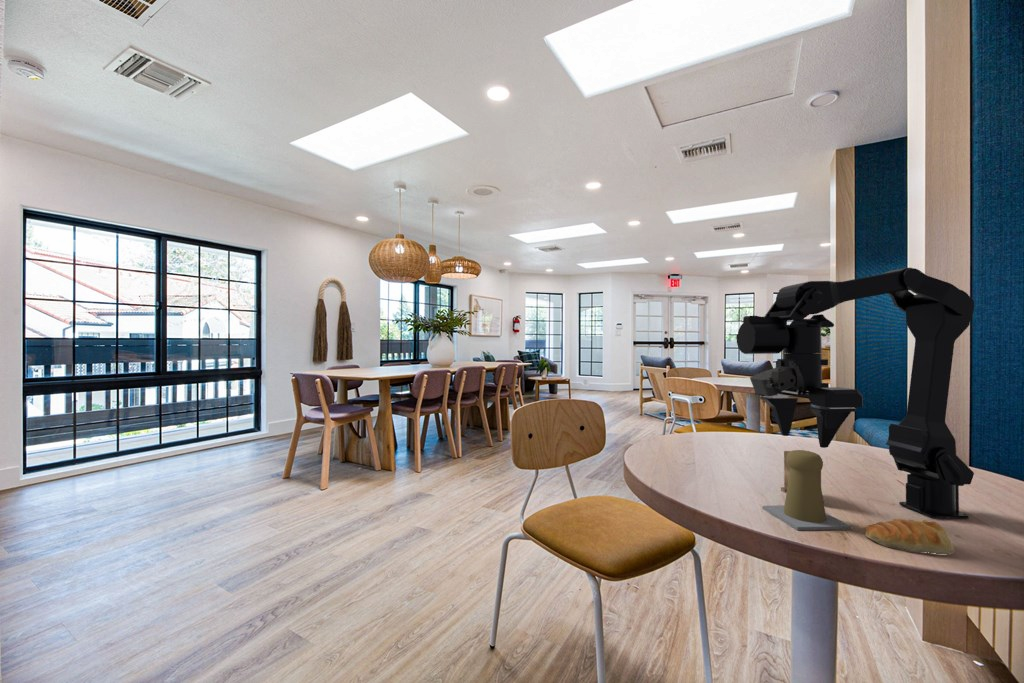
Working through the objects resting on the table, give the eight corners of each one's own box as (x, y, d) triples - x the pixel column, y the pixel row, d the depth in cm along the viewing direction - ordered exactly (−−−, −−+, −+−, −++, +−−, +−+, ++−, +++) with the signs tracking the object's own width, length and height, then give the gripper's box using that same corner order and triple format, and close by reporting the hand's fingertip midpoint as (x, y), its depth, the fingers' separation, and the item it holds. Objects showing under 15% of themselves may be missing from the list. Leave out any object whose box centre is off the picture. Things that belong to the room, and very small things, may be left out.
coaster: (810, 507, 77) (810, 505, 77) (851, 529, 68) (851, 526, 68) (762, 508, 76) (762, 505, 76) (797, 530, 67) (797, 527, 67)
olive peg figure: (826, 525, 68) (825, 457, 68) (781, 516, 71) (781, 452, 72) (826, 514, 73) (826, 450, 73) (785, 505, 76) (785, 445, 76)
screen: (795, 489, 86) (795, 450, 86) (825, 504, 78) (825, 461, 78) (780, 489, 86) (780, 451, 86) (809, 504, 78) (808, 461, 78)
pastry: (883, 553, 60) (882, 526, 60) (854, 533, 67) (854, 509, 67) (960, 559, 59) (959, 532, 59) (923, 538, 65) (922, 513, 65)
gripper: (728, 353, 83) (729, 431, 83) (796, 355, 65) (797, 456, 65) (782, 352, 84) (783, 430, 84) (864, 354, 65) (866, 454, 65)
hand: (803, 441), depth 74 cm, fingers open, 9 cm apart
